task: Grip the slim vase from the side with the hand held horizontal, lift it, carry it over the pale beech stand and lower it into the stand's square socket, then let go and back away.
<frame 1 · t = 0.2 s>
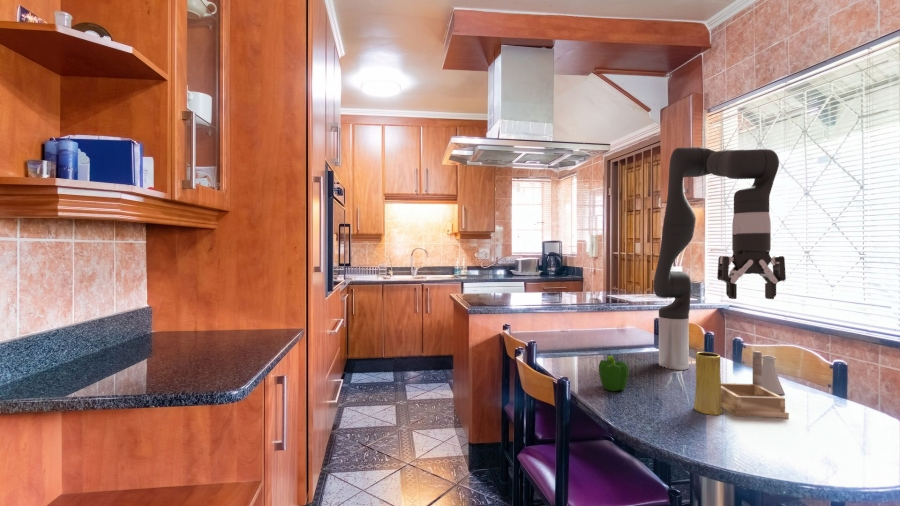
hand: (750, 298, 100), 29 cm above the table, tool pointing down, fingers open, 8 cm apart
stand: (746, 407, 106), on the table
flask: (768, 392, 119), on the table
bell pepper: (612, 389, 121), on the table
vase: (707, 411, 104), on the table
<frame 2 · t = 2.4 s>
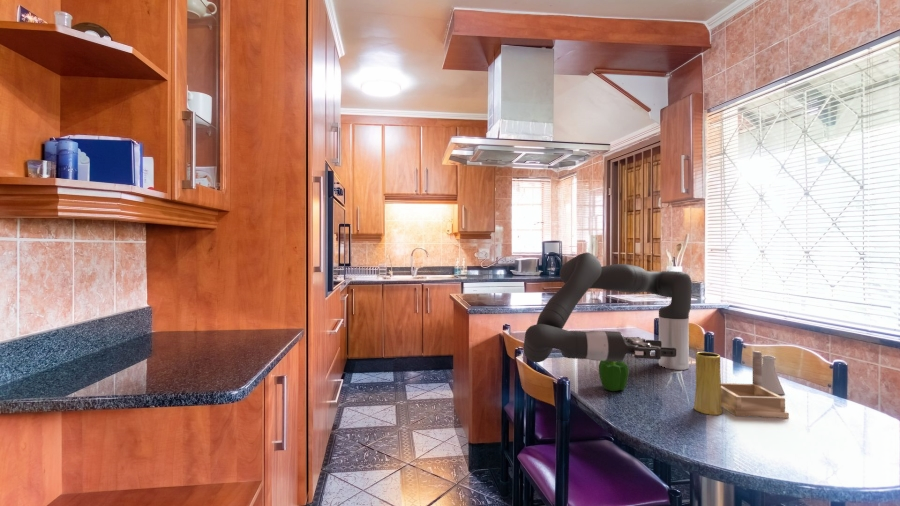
hand: (667, 348, 105), 16 cm above the table, tool horizontal, fingers open, 8 cm apart
nothing on the table moved.
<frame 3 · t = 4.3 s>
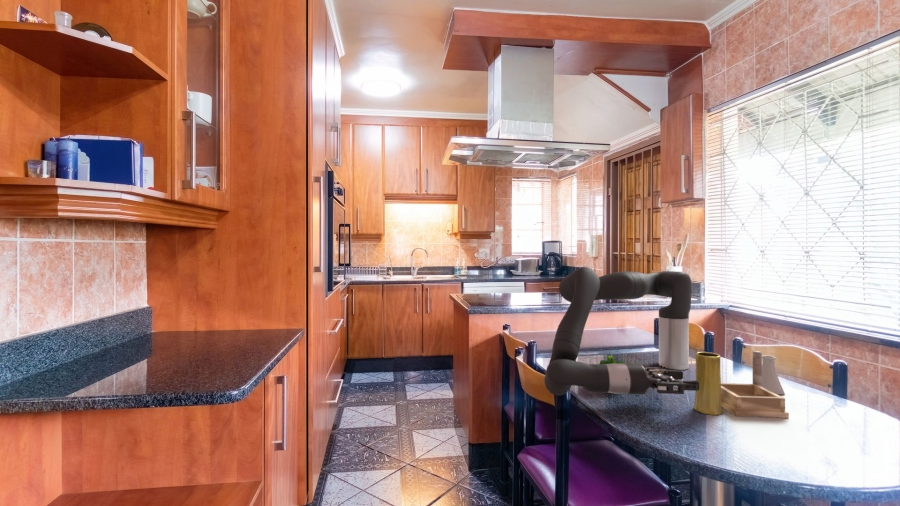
hand: (690, 380, 105), 8 cm above the table, tool horizontal, fingers open, 8 cm apart
nothing on the table moved.
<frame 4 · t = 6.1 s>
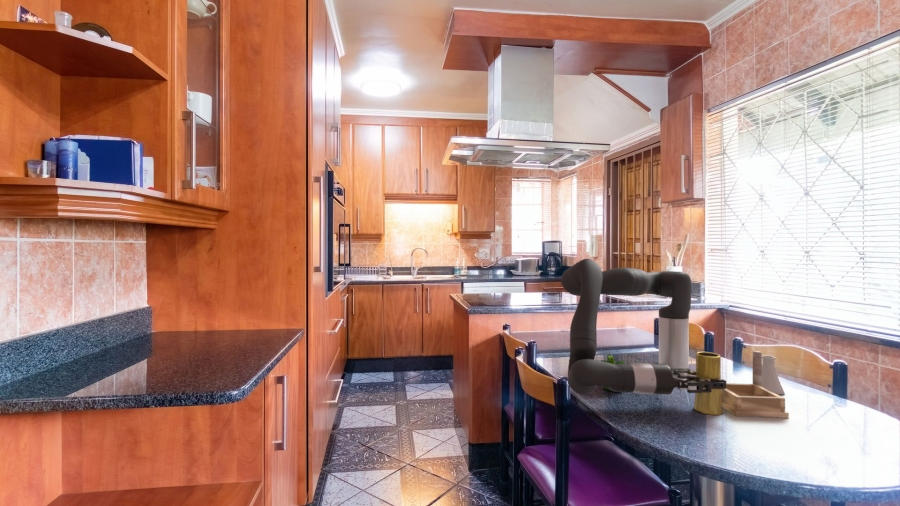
hand: (718, 380, 104), 8 cm above the table, tool horizontal, fingers closed on vase, 5 cm apart
vase: (707, 411, 104), on the table, touching gripper
everything else where it was.
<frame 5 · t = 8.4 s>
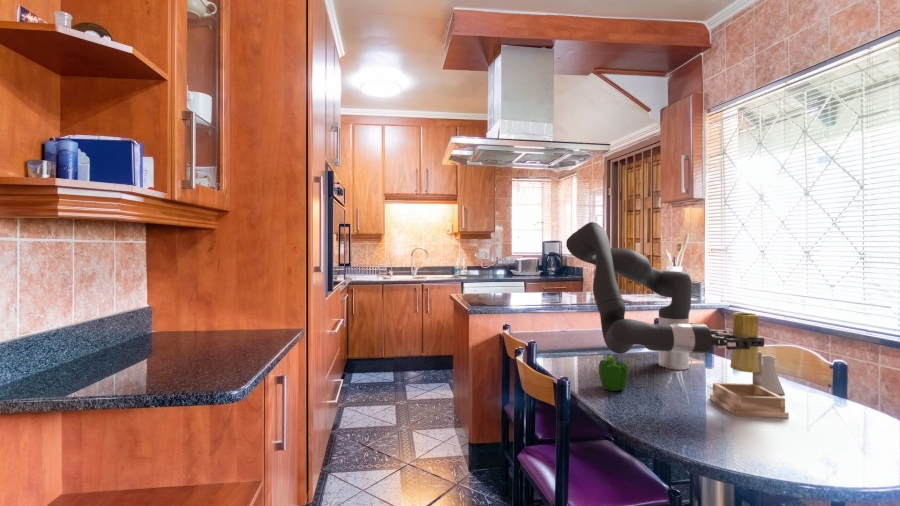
hand: (755, 339, 106), 18 cm above the table, tool horizontal, fingers closed on vase, 5 cm apart
vase: (744, 370, 106), point 10 cm above the table, touching gripper
everything else where it was.
when the fingers open (10 cm above the table, at t = 10.7 s): vase drops 1 cm, resting on stand.
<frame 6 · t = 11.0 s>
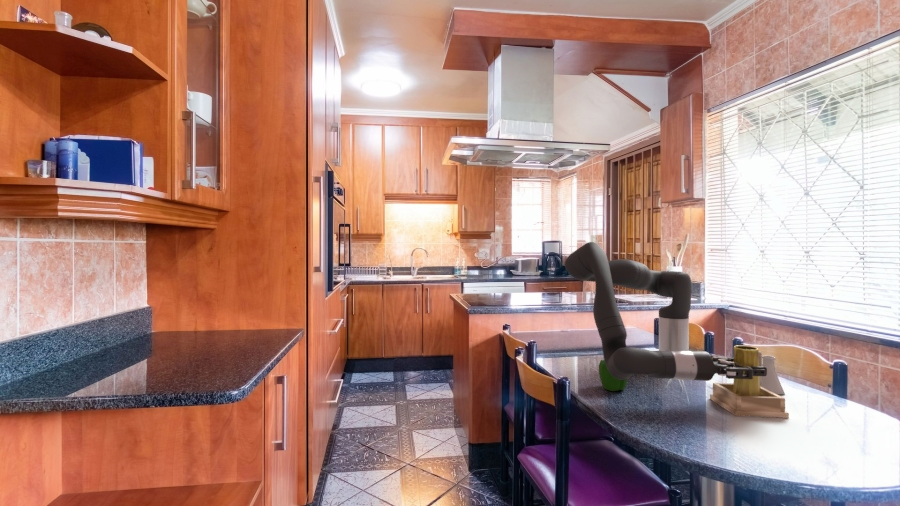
hand: (755, 366, 106), 11 cm above the table, tool horizontal, fingers open, 7 cm apart
vase: (746, 403, 106), point 1 cm above the table, touching stand
everything else where it was.
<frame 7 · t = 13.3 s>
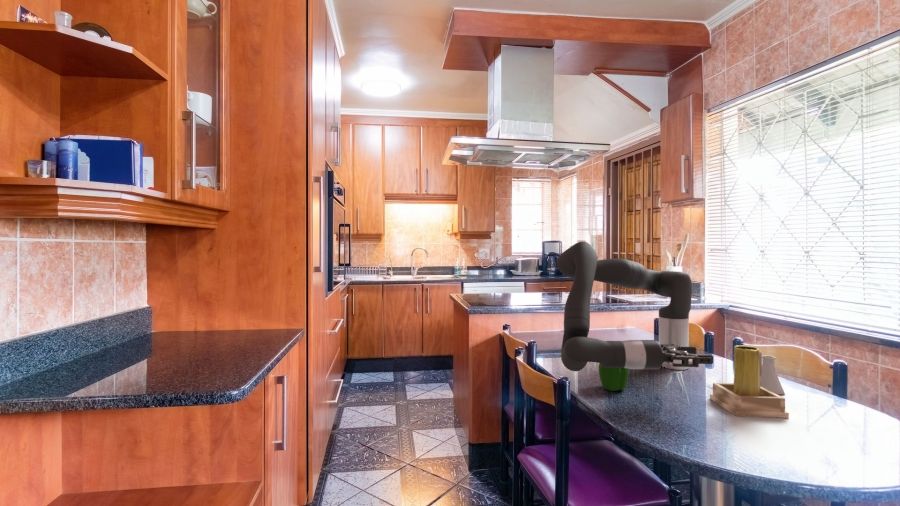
hand: (703, 354, 108), 13 cm above the table, tool horizontal, fingers open, 8 cm apart
nothing on the table moved.
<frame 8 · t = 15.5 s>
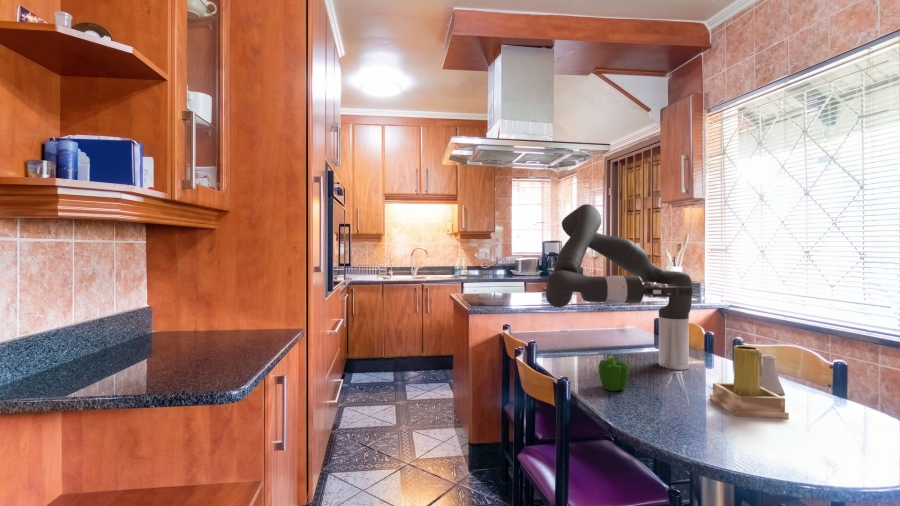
hand: (683, 289, 111), 30 cm above the table, tool horizontal, fingers open, 8 cm apart
nothing on the table moved.
at the end: vase inside the target area on the stand (0.1 cm from its centre), point 1.0 cm above the stand's base; vase tilted 0°; the gripper is holding nothing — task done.
